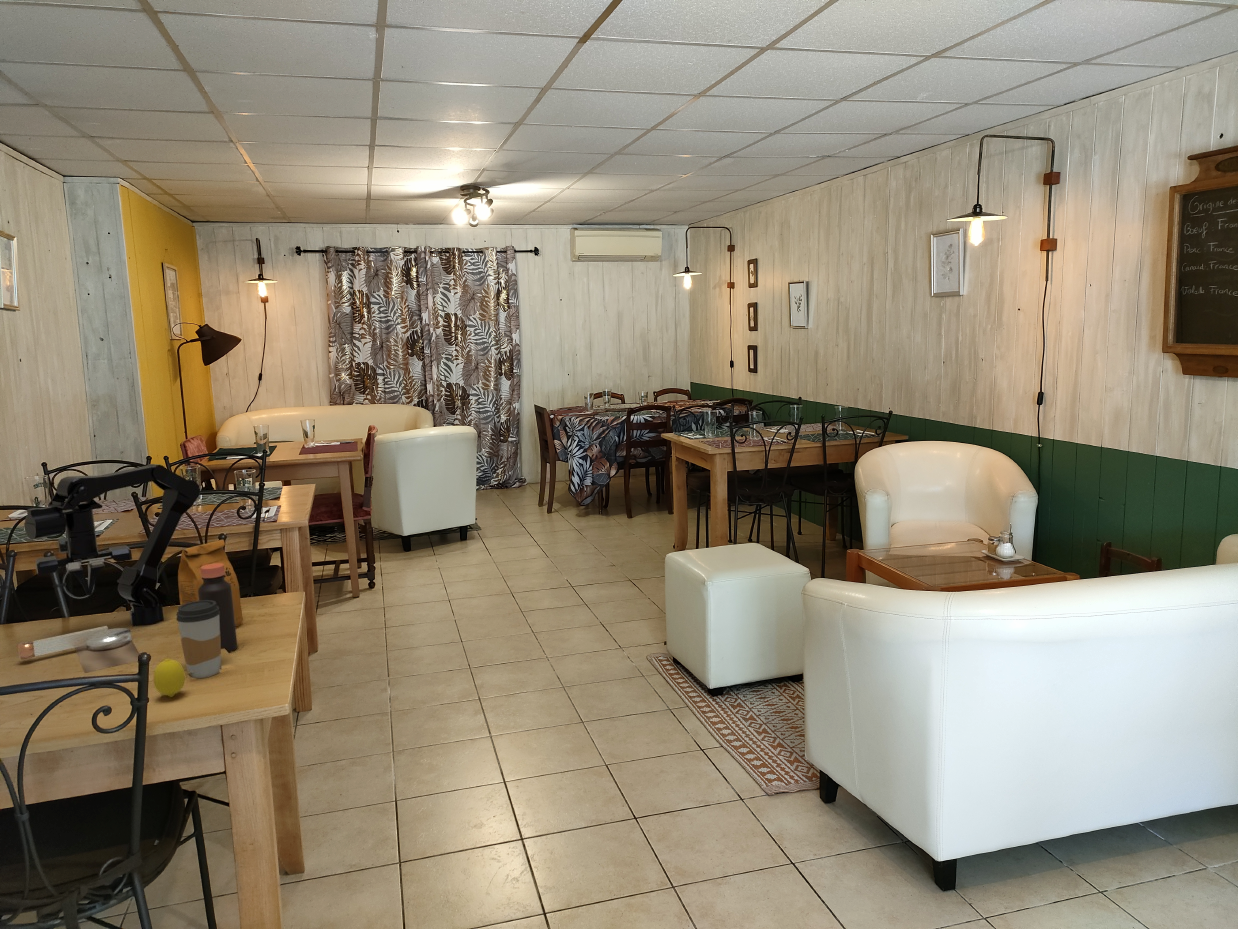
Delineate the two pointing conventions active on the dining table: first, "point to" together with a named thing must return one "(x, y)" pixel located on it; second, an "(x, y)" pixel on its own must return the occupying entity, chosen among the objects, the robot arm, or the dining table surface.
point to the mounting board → (106, 657)
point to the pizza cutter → (76, 641)
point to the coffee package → (192, 574)
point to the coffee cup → (200, 637)
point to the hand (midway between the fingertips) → (89, 594)
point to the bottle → (220, 602)
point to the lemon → (169, 677)
